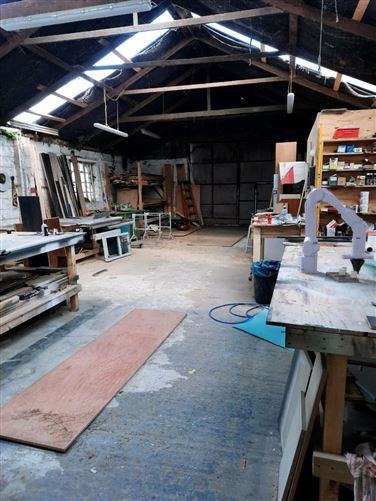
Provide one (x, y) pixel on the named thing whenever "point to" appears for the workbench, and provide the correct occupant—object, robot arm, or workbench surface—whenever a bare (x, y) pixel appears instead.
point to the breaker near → (353, 274)
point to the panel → (341, 277)
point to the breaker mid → (342, 271)
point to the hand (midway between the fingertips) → (356, 273)
